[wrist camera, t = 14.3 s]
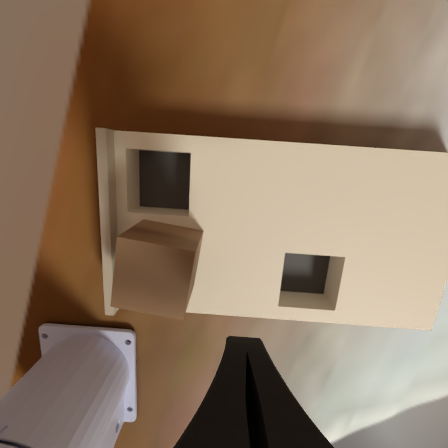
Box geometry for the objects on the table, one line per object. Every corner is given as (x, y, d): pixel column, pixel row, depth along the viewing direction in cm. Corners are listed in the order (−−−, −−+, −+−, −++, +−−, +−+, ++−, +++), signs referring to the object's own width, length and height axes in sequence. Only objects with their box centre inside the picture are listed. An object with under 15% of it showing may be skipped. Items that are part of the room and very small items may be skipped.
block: (193, 285, 18) (183, 320, 14) (137, 274, 18) (110, 306, 14) (203, 230, 17) (195, 251, 13) (143, 219, 17) (116, 236, 13)
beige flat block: (407, 310, 20) (443, 340, 17) (125, 289, 21) (105, 314, 17) (449, 156, 18) (502, 154, 14) (121, 134, 18) (95, 127, 14)
